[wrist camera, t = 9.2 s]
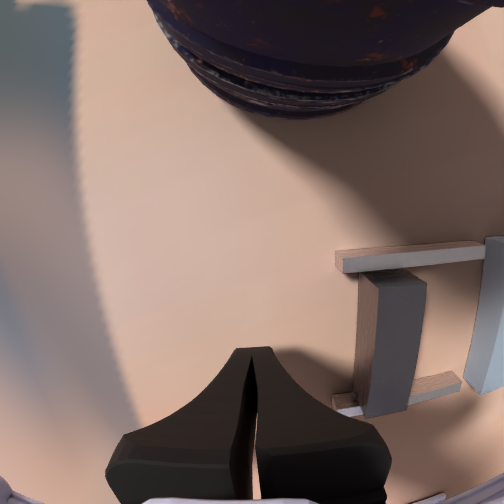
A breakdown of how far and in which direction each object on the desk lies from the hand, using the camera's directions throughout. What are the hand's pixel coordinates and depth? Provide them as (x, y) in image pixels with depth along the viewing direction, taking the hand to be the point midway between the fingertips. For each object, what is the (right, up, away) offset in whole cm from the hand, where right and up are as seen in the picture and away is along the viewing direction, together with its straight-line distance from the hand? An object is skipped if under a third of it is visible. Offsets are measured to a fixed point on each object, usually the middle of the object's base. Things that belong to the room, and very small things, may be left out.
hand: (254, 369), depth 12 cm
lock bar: (+5, +1, +2) cm, 6 cm away
